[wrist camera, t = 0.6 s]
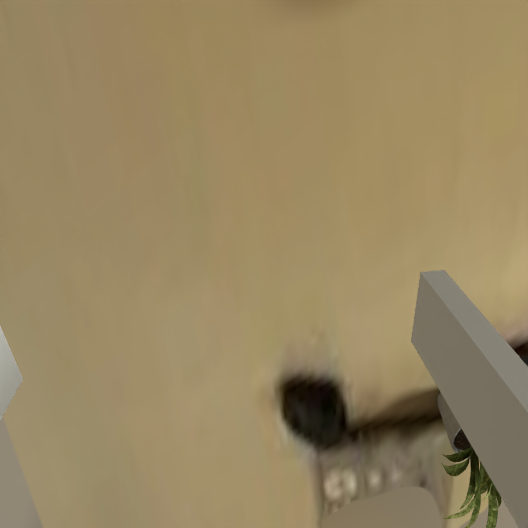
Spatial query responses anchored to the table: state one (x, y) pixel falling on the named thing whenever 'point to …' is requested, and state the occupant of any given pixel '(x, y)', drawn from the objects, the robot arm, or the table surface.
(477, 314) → the robot arm
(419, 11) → the table surface
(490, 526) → the house plant
